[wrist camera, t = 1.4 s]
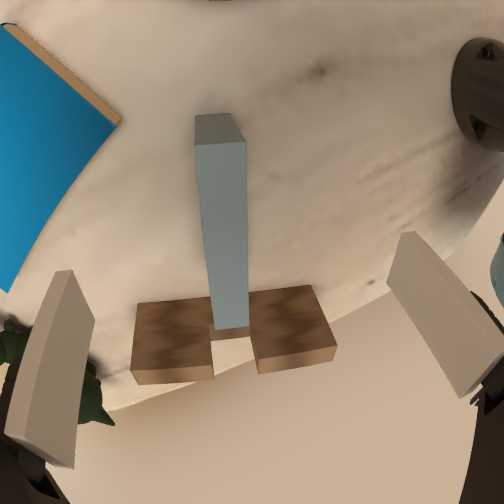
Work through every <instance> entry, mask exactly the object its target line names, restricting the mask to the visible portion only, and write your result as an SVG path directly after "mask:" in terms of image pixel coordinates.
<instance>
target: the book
mask: <svg viewBox="0 0 504 504" xmlns="http://www.w3.org/2000/svg"><path fill="white" fill-rule="evenodd" d="M121 119H122V117H121V116H120V115H119V114H118V113H117V112H116V111H114V110H113V109H112V108H111V107H110V106H109V105H108V104H107V103H105V102H104V101H103V100H102V99H101V98H100V97H99V96H97V95H96V94H95V93H94V92H93V91H92V90H91V89H90V88H88V87H87V86H86V85H85V84H84V83H83V82H82V81H80V80H79V79H78V78H77V77H76V76H75V75H74V74H72V73H71V72H70V71H69V70H68V69H67V68H66V67H64V66H63V65H62V64H61V63H60V62H59V61H57V60H56V59H55V58H54V57H53V56H52V55H51V54H49V53H48V52H47V51H46V50H45V49H44V48H42V47H41V46H40V45H39V44H38V43H37V42H35V41H34V40H33V39H32V38H31V37H30V36H28V35H27V34H26V33H25V32H24V31H23V30H21V29H20V28H19V27H18V26H16V25H15V24H11V23H2V24H1V25H0V288H1V289H2V290H4V291H5V292H6V293H8V292H9V290H10V288H11V286H12V284H13V282H14V280H15V278H16V276H17V274H18V272H19V270H20V268H21V266H22V264H23V262H24V260H25V258H26V256H27V255H28V253H29V251H30V249H31V247H32V246H33V244H34V242H35V240H36V239H37V237H38V235H39V234H40V232H41V230H42V229H43V227H44V225H45V224H46V222H47V220H48V219H49V217H50V216H51V214H52V213H53V211H54V209H55V208H56V206H57V205H58V203H59V202H60V200H61V199H62V197H63V196H64V194H65V193H66V192H67V190H68V189H69V187H70V186H71V184H72V183H73V182H74V180H75V179H76V177H77V176H78V175H79V173H80V172H81V171H82V169H83V168H84V167H85V165H86V164H87V163H88V161H89V160H90V159H91V158H92V156H93V155H94V154H95V152H96V151H97V150H98V149H99V147H100V146H101V145H102V144H103V143H104V141H105V140H106V139H107V138H108V137H109V135H110V134H111V133H112V132H113V131H114V130H115V128H116V127H117V126H116V124H117V123H118V122H119V121H120V120H121Z"/></svg>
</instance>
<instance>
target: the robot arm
mask: <svg viewBox="0 0 504 504" xmlns="http://www.w3.org/2000/svg"><path fill="white" fill-rule="evenodd" d="M452 101H453V107H454V112H455V116H456V119H457V121H458V124H459V126H460V128H461V130H462V131H463V133H464V134H465V135H466V137H467V138H468V139H469V140H471V141H472V142H474V143H476V144H477V145H479V146H481V147H483V148H485V149H488V150H491V151H499V152H504V43H502V42H500V41H497V40H493V39H488V38H475V39H473V40H471V41H469V42H468V43H467V44H466V45H465V46H464V47H463V48H462V50H461V51H460V53H459V55H458V57H457V60H456V63H455V66H454V71H453V77H452ZM490 276H491V282H492V285H493V288H494V290H495V292H496V295H497V297H498V299H499V301H500V303H501V305H502V306H503V308H504V233H503V235H502V236H501V242H500V244H499V247H498V249H497V251H496V253H495V255H494V258H493V260H492V263H491V267H490ZM386 283H387V284H388V286H389V287H390V288H391V290H392V291H393V293H394V294H395V296H396V297H397V299H398V300H399V301H400V303H401V305H402V306H403V307H404V309H405V311H406V312H407V314H408V315H409V317H410V318H411V320H412V321H413V323H414V324H415V326H416V327H417V329H418V330H419V332H420V334H421V335H422V337H423V338H424V340H425V342H426V343H427V345H428V346H429V348H430V349H431V351H432V353H433V355H434V356H435V358H436V360H437V361H438V363H439V364H440V366H441V368H442V370H443V371H444V373H445V375H446V377H447V378H448V380H449V382H450V383H451V385H452V387H453V389H454V391H455V392H456V394H457V396H458V398H459V399H460V398H462V397H464V396H466V395H467V394H469V393H471V392H473V391H474V390H475V388H476V387H477V386H478V385H479V384H480V383H481V384H482V385H483V388H482V389H481V390H480V391H479V392H478V393H477V394H476V395H475V396H474V397H473V398H472V399H471V401H470V404H473V403H474V402H475V401H476V400H477V399H478V398H479V400H478V401H477V402H476V404H475V406H478V413H477V421H476V428H475V435H474V441H473V446H472V451H471V457H470V462H469V466H468V470H467V475H466V479H465V483H464V487H463V490H462V494H461V497H460V501H459V504H504V327H503V326H502V324H501V323H500V322H499V320H498V319H497V318H496V317H495V315H494V314H493V312H492V311H491V310H489V307H488V306H487V305H486V304H485V302H484V301H483V300H482V299H481V298H480V297H479V296H477V295H476V294H475V293H473V292H472V291H469V290H468V289H467V288H466V287H465V285H464V284H463V283H462V282H461V281H460V279H459V278H458V277H457V276H456V275H455V274H454V273H453V271H452V270H451V269H450V268H449V267H448V266H447V265H446V264H445V262H444V261H443V260H442V259H441V258H440V257H439V256H438V255H437V254H436V253H435V252H434V250H433V249H432V248H431V247H430V246H429V245H428V244H427V243H426V242H425V241H424V240H423V239H422V238H421V237H420V236H419V235H418V234H417V233H416V232H415V231H414V232H404V233H401V237H400V240H399V244H398V247H397V251H396V254H395V257H394V260H393V264H392V267H391V270H390V273H389V276H388V279H387V282H386ZM94 323H95V318H94V316H93V314H92V312H91V310H90V308H89V306H88V304H87V302H86V300H85V298H84V296H83V293H82V291H81V289H80V287H79V285H78V282H77V280H76V278H75V275H74V273H73V271H72V270H65V271H56V272H55V274H54V277H53V279H52V281H51V283H50V286H49V288H48V290H47V293H46V295H45V297H44V300H43V302H42V305H41V307H40V310H39V312H38V315H37V317H36V320H35V323H34V325H33V328H32V331H31V334H30V337H29V340H28V342H27V345H26V348H25V352H24V355H16V356H15V358H14V359H13V361H12V362H11V364H10V365H9V367H8V371H7V374H6V377H5V382H4V384H3V388H2V393H1V395H0V504H70V503H69V501H68V500H67V498H66V497H65V495H64V494H63V492H62V491H61V490H60V488H59V486H58V485H57V484H56V482H55V480H54V479H53V477H52V475H51V474H50V472H49V471H48V470H47V469H46V468H45V463H46V462H48V463H50V464H51V465H53V466H55V467H60V468H67V469H73V470H74V460H75V459H74V458H75V445H76V433H77V424H78V415H79V407H80V399H81V392H82V386H83V379H84V373H85V368H86V362H87V357H88V351H89V346H90V341H91V337H92V332H93V328H94Z"/></svg>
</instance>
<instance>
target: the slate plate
mask: <svg viewBox="0 0 504 504" xmlns="http://www.w3.org/2000/svg"><path fill="white" fill-rule="evenodd" d="M195 157H196V169H197V180H198V191H199V201H200V211H201V221H202V230H203V239H204V248H205V257H206V265H207V273H208V281H209V289H210V296H211V304H212V311H213V318H214V325H215V330H220V329H229V328H237V327H245V326H249V294H248V239H247V179H246V141H245V139H244V138H243V136H242V134H241V132H240V131H239V129H238V127H237V125H236V124H235V122H234V120H233V119H232V117H231V115H230V113H227V114H212V115H200V116H195Z"/></svg>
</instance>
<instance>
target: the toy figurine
mask: <svg viewBox="0 0 504 504" xmlns="http://www.w3.org/2000/svg"><path fill="white" fill-rule="evenodd" d="M15 328H16V325H15V323H14V322H13V321H11V320H7V321H5V324H4V329H5V330H4V331H2V332H0V365H2V364H3V363H4V362H6V363H9V364H11V362H12V361H13V359H14V358H15V356H16V355H24V352H25V348H26V345H27V342H28V340H29V337H30V334H31V331H32V328H31V329H30V330H29V332H28V334H18V333H17V332H15ZM95 376H96V369H95V367H94V366H93V365H92V364H90V363H86V368H85V373H84V379H83V386H82V392H81V399H80V407H79V415H78V424H85V423H88V422H90V421H97V422H100V423H104V424H107V425H111V426H114V425H115V423H114V422H113V420H112V419H111V418H110V416H109V415H108V414H107V413H106V411H105V410H104V409H103V407H102V391H101V387H100V386H101V382H100V380H99V379H97V378H95Z"/></svg>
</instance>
